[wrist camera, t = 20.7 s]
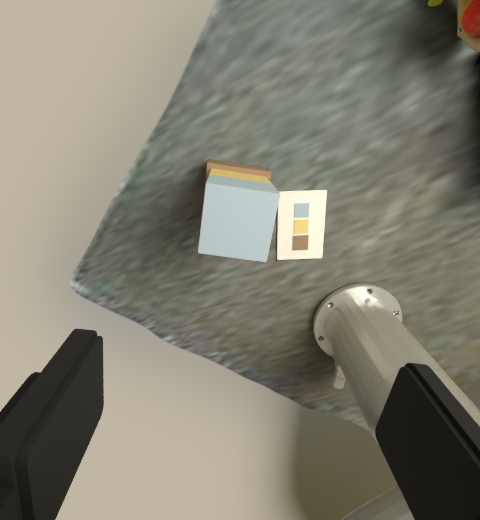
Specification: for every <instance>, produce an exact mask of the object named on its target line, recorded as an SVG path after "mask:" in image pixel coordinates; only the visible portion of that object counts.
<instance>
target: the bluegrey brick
mask: <svg viewBox="0 0 480 520" xmlns="http://www.w3.org/2000/svg"><path fill="white" fill-rule="evenodd" d="M279 198H280V193H279V192H278V190H277V189H276V188H275V187H274V185H273V184H269V183H262V182H256V181H249V180H243V179H236V178H230V177H223V176H217V175H209V177H208V179H207V182H206V187H205V196H204V205H203V213H202V222H201V231H200V240H199V248H198V253H201V254H209V255H217V256H224V257H232V258H239V259H247V260H254V261H262V262H267V258H268V253H269V248H270V243H271V238H272V233H273V228H274V223H275V218H276V213H277V208H278V203H279Z"/></svg>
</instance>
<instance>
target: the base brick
mask: <svg viewBox="0 0 480 520" xmlns="http://www.w3.org/2000/svg"><path fill="white" fill-rule="evenodd" d="M212 168H213V169H219V170H226V171H232V172H239V173H245V174H252V175H258V176H264V177H267V178H268V179H269V181H270V178H271V173H272V172H271V171H270V170H269V169H268V168H264V167H257V166H251V165H244V164H237V163H230V162H224V161H217V160H210V159H209V161H208V162H207V170H206V179H205V187H206V182H207V179H208V177H209V173H210V171H211V169H212ZM204 196H205V189H204ZM203 205H204V198H203ZM202 213H203V208H202ZM201 222H202V217H201Z"/></svg>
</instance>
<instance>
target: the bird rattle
mask: <svg viewBox="0 0 480 520" xmlns="http://www.w3.org/2000/svg"><path fill="white" fill-rule="evenodd" d="M442 1H443V0H429V2H428V6H430V7H433V6H437V5H439V4H441V3H442ZM457 20H458V30H457V36H458V37H459V38H462V39H463V41H464V42H465V44H466V45H467V46H468V47H469V48H471V49H473V50H475V51H478V52H480V0H458V6H457Z"/></svg>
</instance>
